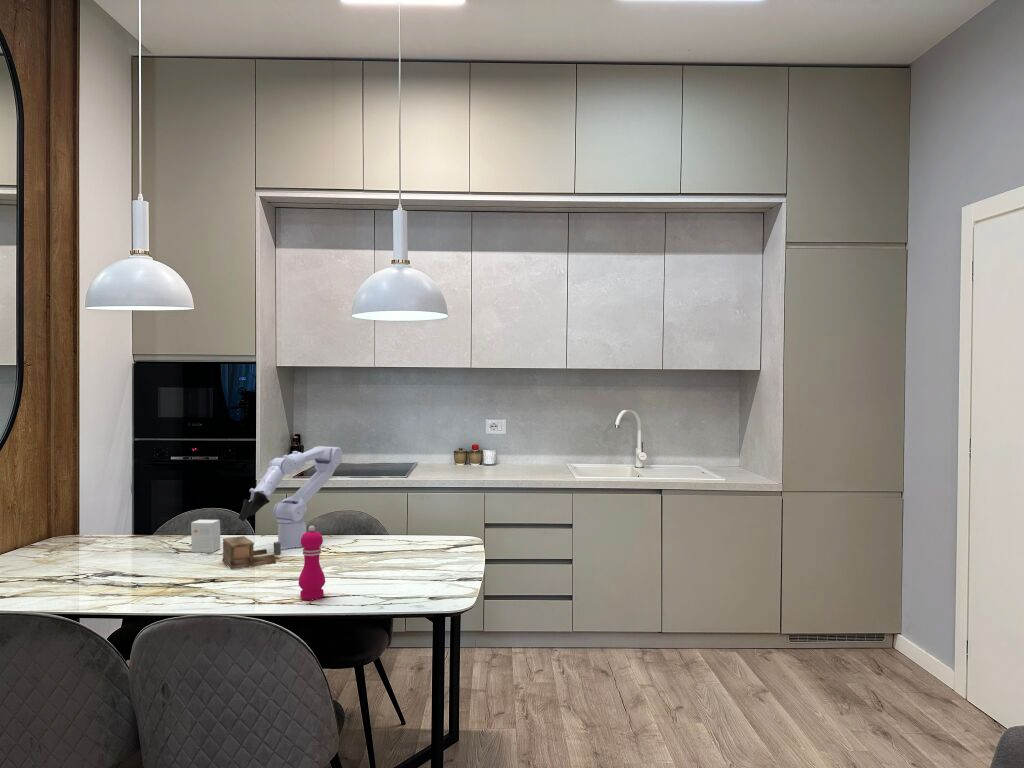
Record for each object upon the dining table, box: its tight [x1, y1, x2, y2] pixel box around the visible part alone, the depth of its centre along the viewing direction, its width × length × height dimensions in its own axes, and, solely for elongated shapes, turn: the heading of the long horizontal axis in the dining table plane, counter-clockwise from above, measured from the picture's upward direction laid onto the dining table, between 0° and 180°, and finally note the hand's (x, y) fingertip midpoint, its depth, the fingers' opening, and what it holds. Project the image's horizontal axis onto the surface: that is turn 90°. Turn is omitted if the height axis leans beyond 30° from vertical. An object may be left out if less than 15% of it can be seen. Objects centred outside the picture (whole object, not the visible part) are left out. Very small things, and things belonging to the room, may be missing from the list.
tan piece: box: [234, 541, 282, 560], centre depth 249 cm, size 16×6×5 cm, turn 124°
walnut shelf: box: [222, 535, 277, 570], centre depth 248 cm, size 14×12×8 cm
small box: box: [190, 519, 221, 553], centre depth 264 cm, size 8×6×10 cm
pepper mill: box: [298, 525, 326, 601], centre depth 209 cm, size 7×7×20 cm
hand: (245, 516), depth 252 cm, fingers open, 7 cm apart
